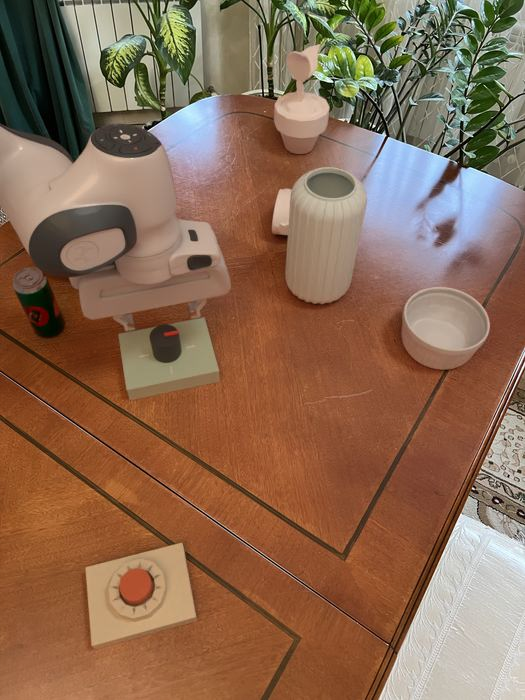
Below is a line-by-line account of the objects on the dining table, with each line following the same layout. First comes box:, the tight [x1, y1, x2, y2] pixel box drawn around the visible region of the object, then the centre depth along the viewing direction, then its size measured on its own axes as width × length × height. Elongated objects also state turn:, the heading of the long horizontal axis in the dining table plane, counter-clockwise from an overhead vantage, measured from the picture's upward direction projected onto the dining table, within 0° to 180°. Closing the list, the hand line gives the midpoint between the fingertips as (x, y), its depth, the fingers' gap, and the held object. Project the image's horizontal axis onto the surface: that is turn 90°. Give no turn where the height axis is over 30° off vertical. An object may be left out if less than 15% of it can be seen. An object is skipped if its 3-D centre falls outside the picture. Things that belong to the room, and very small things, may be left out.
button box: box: [85, 542, 198, 650], centre depth 68 cm, size 12×9×4 cm
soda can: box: [12, 266, 66, 339], centre depth 90 cm, size 5×5×12 cm
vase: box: [284, 166, 368, 305], centre depth 93 cm, size 12×12×22 cm
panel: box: [117, 317, 221, 402], centre depth 90 cm, size 14×11×3 cm
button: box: [119, 568, 153, 604], centre depth 66 cm, size 4×4×2 cm
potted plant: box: [273, 41, 330, 155], centre depth 118 cm, size 13×12×25 cm
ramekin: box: [401, 286, 491, 371], centre depth 92 cm, size 13×13×7 cm
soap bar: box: [271, 187, 292, 236], centre depth 108 cm, size 12×9×8 cm
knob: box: [150, 324, 182, 363], centre depth 87 cm, size 4×4×4 cm
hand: (162, 320), depth 83 cm, fingers open, 8 cm apart
